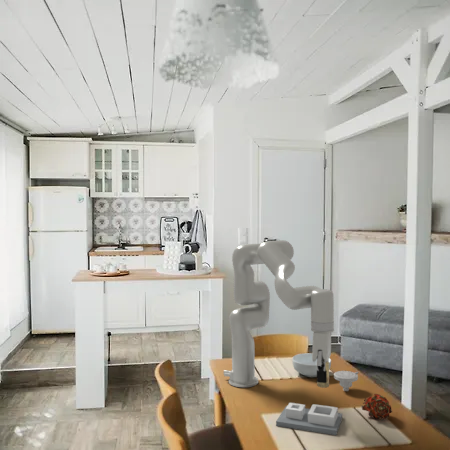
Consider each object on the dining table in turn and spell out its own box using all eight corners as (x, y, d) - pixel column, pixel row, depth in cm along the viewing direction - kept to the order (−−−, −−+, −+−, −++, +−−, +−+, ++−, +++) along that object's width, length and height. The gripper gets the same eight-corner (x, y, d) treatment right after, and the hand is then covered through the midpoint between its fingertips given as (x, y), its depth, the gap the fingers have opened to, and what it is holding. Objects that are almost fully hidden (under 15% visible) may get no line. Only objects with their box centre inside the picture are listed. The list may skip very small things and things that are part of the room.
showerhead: (362, 375, 188) (338, 376, 187) (363, 393, 188) (338, 395, 187) (354, 368, 197) (330, 368, 196) (354, 385, 197) (330, 386, 196)
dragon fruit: (388, 429, 160) (365, 420, 171) (402, 411, 163) (380, 403, 174) (373, 411, 159) (352, 403, 170) (388, 392, 162) (367, 386, 173)
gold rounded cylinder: (316, 386, 160) (315, 363, 160) (318, 382, 164) (318, 359, 164) (328, 388, 159) (327, 364, 159) (330, 384, 162) (329, 360, 162)
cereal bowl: (285, 376, 209) (285, 360, 209) (302, 366, 223) (302, 351, 223) (321, 383, 200) (321, 367, 200) (336, 372, 213) (336, 356, 213)
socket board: (276, 425, 161) (276, 412, 160) (286, 409, 174) (286, 397, 174) (336, 435, 153) (336, 421, 153) (342, 417, 166) (342, 404, 166)
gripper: (316, 320, 170) (316, 371, 170) (306, 331, 155) (306, 387, 155) (337, 321, 167) (337, 373, 168) (329, 332, 152) (330, 389, 152)
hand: (323, 379), depth 161 cm, fingers closed on gold rounded cylinder, 4 cm apart
